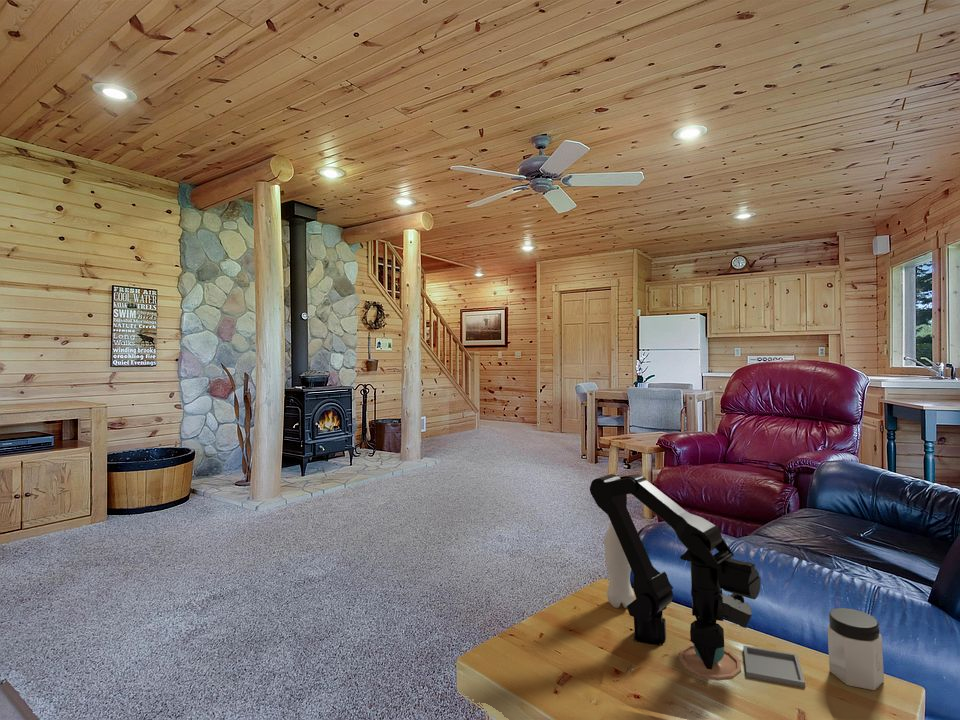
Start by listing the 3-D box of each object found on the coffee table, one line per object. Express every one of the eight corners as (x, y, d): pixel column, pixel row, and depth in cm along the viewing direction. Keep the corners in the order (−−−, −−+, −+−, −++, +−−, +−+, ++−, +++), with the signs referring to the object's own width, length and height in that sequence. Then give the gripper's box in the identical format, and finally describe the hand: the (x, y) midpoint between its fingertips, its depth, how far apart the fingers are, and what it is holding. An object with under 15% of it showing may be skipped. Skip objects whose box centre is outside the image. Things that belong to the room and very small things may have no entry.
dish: (678, 674, 107) (677, 669, 107) (681, 644, 117) (680, 639, 117) (742, 686, 102) (742, 681, 102) (739, 654, 113) (739, 649, 113)
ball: (694, 666, 108) (692, 638, 108) (694, 651, 113) (693, 624, 114) (725, 672, 106) (723, 643, 106) (724, 656, 111) (723, 628, 111)
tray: (746, 679, 104) (746, 671, 104) (743, 652, 113) (743, 645, 113) (805, 690, 100) (805, 682, 100) (797, 661, 109) (797, 654, 109)
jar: (871, 696, 97) (868, 633, 97) (823, 675, 104) (820, 616, 104) (889, 678, 102) (886, 618, 102) (843, 659, 109) (840, 603, 109)
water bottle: (608, 610, 135) (603, 515, 135) (606, 597, 142) (601, 507, 142) (636, 611, 133) (631, 515, 133) (632, 598, 141) (628, 507, 141)
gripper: (751, 610, 98) (755, 691, 98) (745, 571, 115) (748, 640, 115) (688, 601, 102) (692, 679, 102) (691, 565, 119) (694, 632, 119)
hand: (709, 656), depth 110 cm, fingers open, 9 cm apart
